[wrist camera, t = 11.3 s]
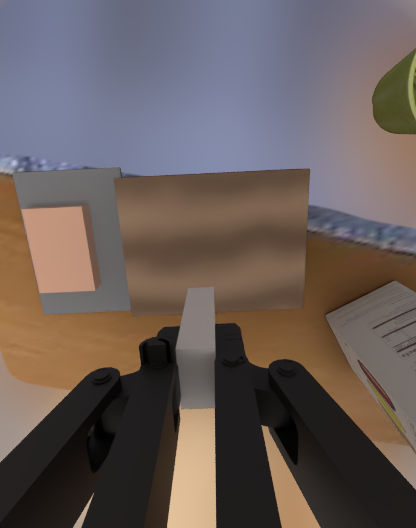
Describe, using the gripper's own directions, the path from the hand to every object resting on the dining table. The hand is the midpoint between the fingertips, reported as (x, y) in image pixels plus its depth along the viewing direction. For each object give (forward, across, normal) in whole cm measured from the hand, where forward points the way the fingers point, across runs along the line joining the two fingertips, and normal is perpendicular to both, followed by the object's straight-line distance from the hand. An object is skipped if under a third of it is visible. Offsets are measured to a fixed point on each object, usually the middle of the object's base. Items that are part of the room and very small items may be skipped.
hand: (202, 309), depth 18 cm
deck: (+17, -1, -1) cm, 17 cm away
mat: (+17, +14, -1) cm, 22 cm away
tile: (+14, +15, -1) cm, 21 cm away
